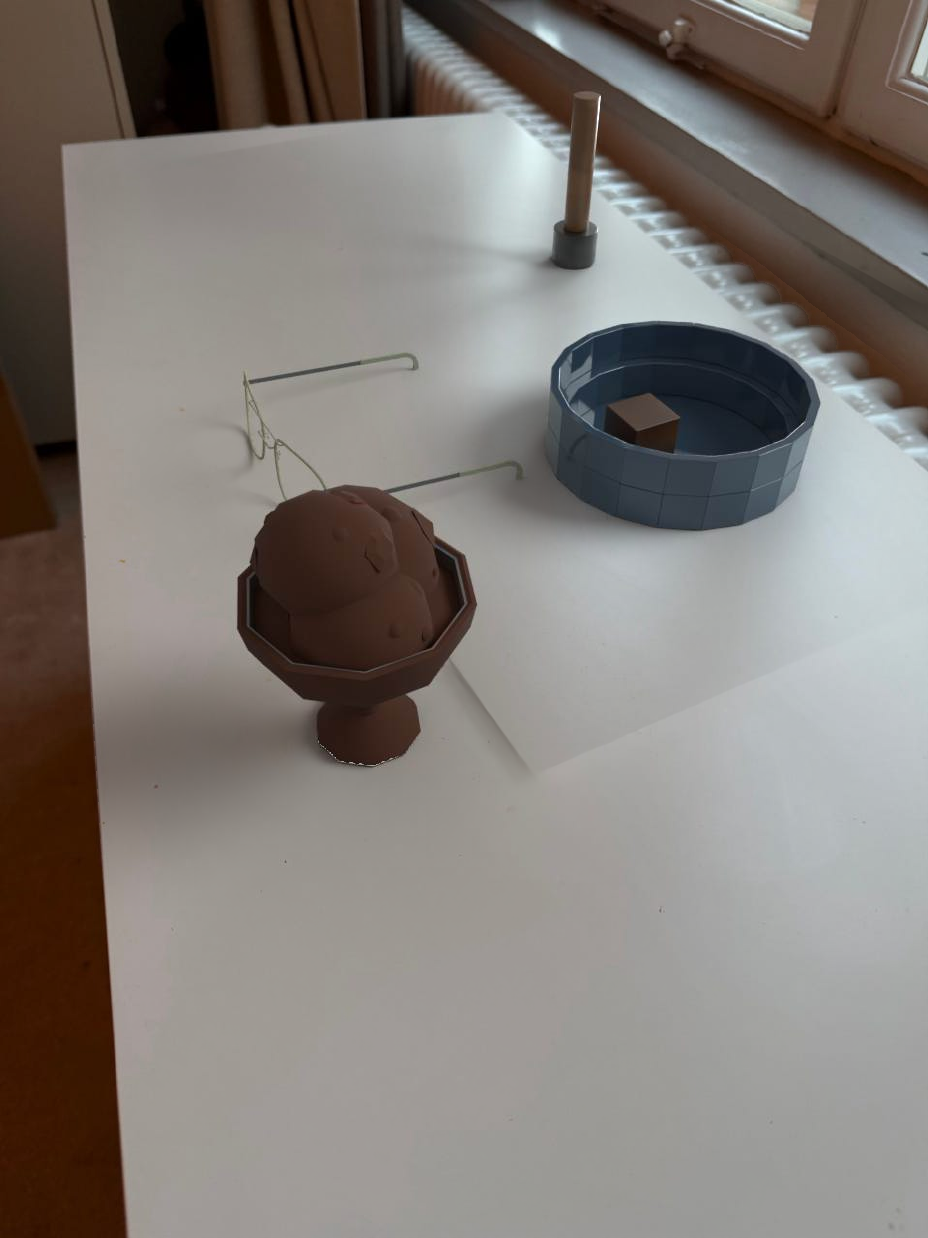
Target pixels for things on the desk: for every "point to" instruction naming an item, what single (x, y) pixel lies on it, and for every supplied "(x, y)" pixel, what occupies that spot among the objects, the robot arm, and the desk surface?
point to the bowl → (681, 423)
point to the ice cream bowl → (354, 612)
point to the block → (643, 423)
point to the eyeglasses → (391, 490)
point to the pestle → (579, 188)
